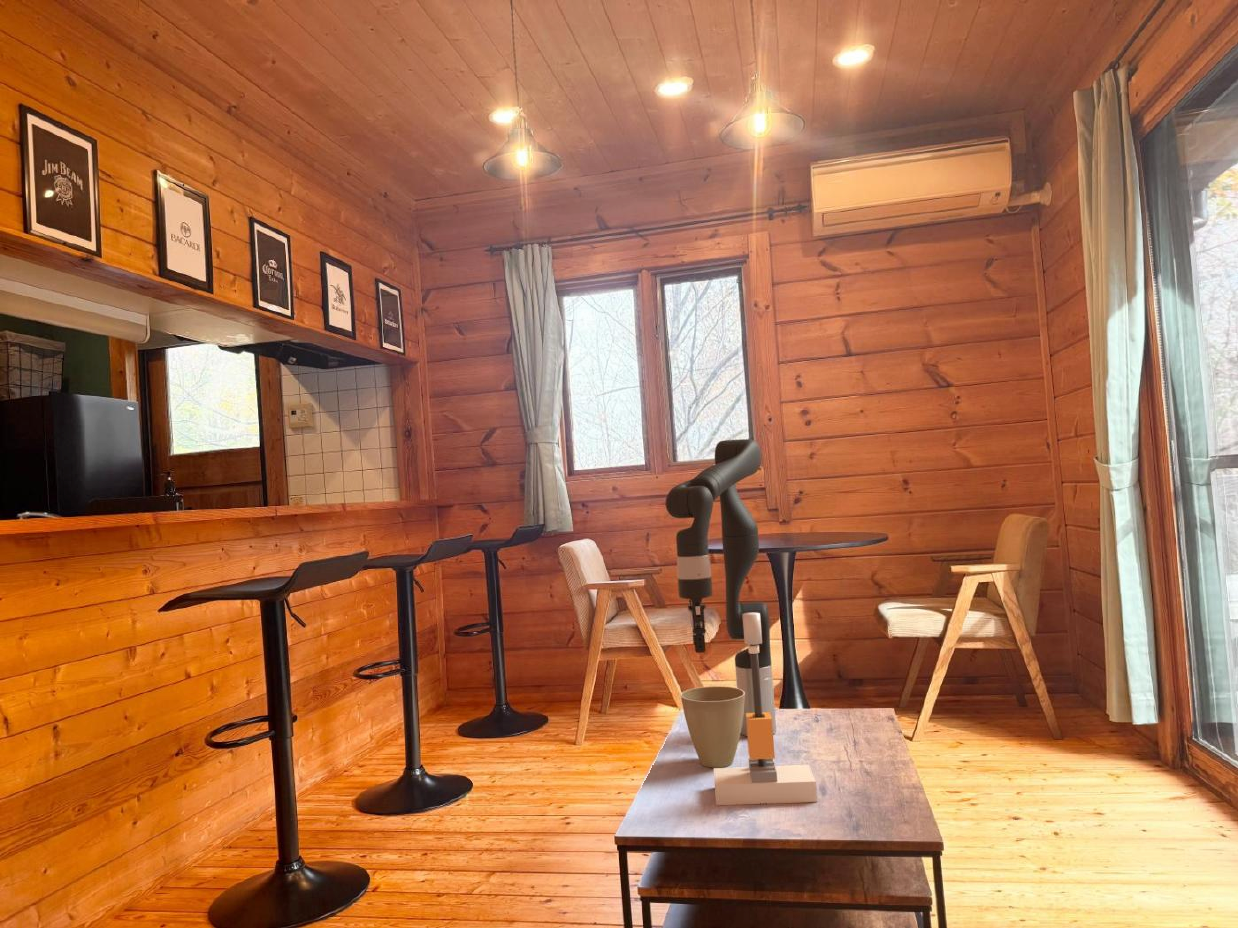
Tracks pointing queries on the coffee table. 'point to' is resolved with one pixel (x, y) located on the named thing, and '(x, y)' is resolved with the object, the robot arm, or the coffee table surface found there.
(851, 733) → the coffee table surface
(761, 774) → the stand
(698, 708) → the plant pot
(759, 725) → the sleeve
